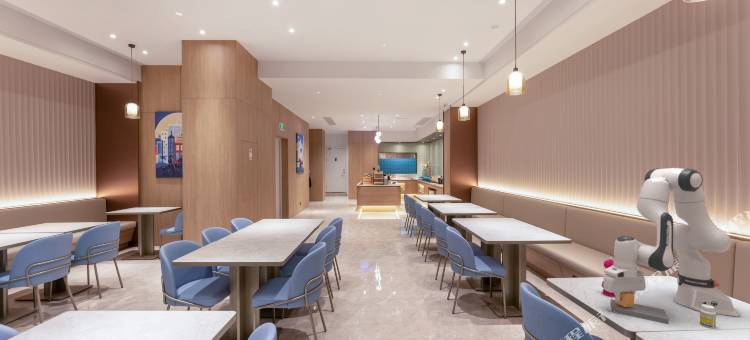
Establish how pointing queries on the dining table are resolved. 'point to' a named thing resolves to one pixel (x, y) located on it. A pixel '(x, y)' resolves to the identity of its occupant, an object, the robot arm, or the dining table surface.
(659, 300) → the dining table surface
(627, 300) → the tangerine wooden cube
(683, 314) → the dining table surface
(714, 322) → the supplement bottle
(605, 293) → the pepper mill
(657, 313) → the plate
